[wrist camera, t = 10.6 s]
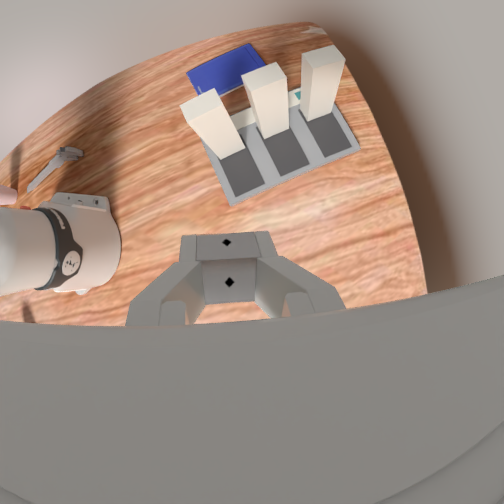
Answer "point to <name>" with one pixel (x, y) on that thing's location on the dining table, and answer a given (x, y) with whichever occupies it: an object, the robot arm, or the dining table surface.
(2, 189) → the smoothie
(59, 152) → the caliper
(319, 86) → the cream tall block
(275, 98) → the cream tall flat block
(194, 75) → the hard drive
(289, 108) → the switch base
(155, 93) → the dining table surface
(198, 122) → the cream tall block
